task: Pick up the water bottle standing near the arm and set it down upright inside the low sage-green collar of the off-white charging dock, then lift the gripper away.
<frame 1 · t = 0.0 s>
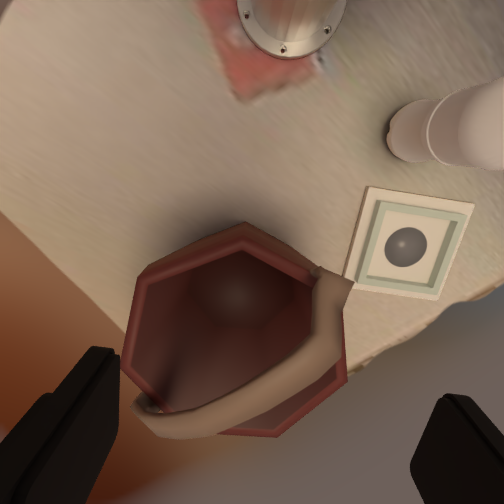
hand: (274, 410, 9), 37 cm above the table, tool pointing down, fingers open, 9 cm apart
water bottle: (407, 133, 41), on the table
bucket: (245, 278, 48), on the table
charging dock: (402, 245, 46), on the table
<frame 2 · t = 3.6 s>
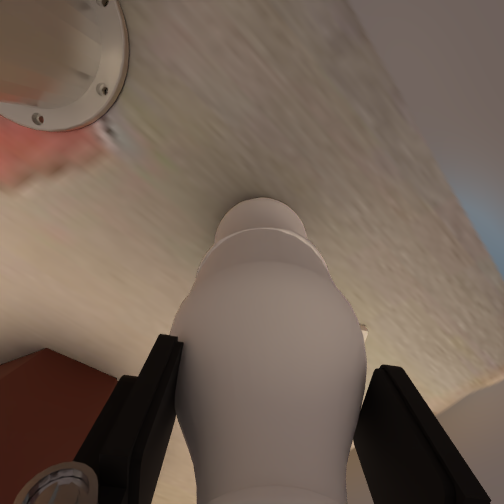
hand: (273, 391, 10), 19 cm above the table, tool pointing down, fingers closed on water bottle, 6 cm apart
water bottle: (260, 233, 28), on the table, touching gripper
bucket: (63, 416, 34), on the table
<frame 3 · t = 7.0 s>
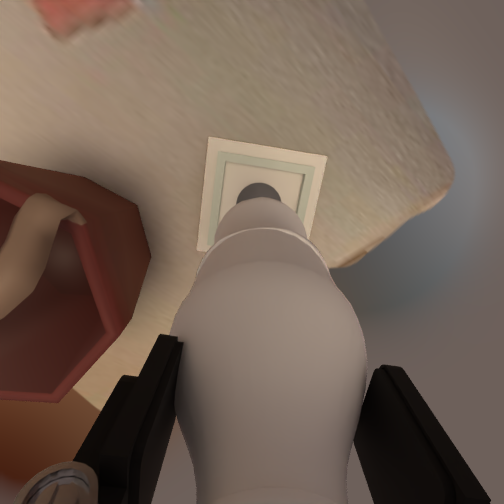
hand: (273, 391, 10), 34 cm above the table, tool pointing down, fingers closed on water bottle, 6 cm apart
water bottle: (260, 233, 28), point 15 cm above the table, touching gripper
bucket: (95, 242, 44), on the table
charging dock: (258, 204, 42), on the table
when the fingers open (20 cm above the table, at t = 10.3 s): water bottle stays where it is, resting on charging dock.
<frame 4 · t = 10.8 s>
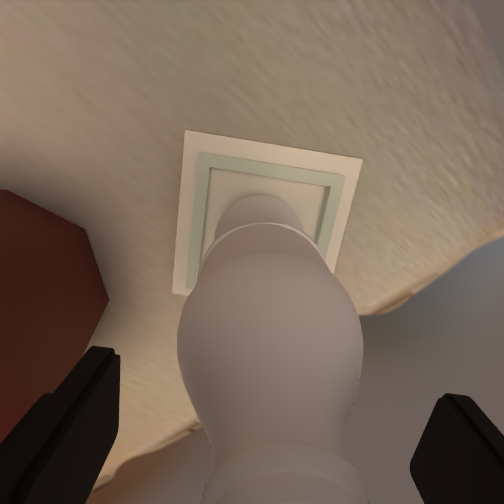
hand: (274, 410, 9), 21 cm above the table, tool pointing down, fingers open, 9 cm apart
water bottle: (258, 229, 28), point 1 cm above the table, touching charging dock
bucket: (29, 280, 31), on the table
charging dock: (260, 228, 29), on the table
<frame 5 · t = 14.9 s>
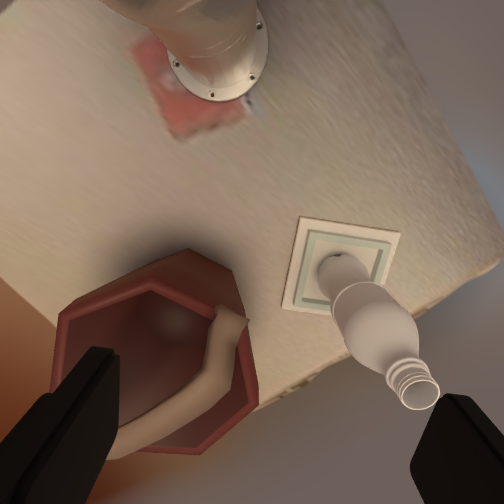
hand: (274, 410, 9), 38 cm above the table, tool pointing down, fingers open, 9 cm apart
water bottle: (337, 271, 48), point 1 cm above the table, touching charging dock
bucket: (191, 300, 51), on the table
charging dock: (337, 270, 49), on the table
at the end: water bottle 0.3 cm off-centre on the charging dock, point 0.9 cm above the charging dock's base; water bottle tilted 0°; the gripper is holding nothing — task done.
